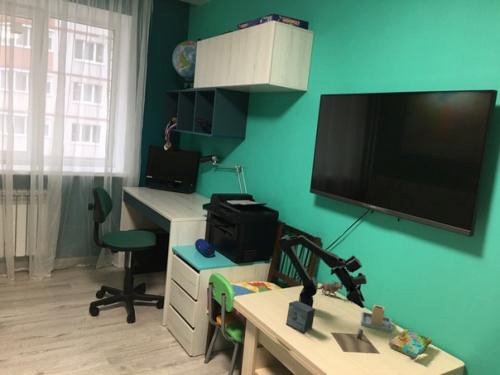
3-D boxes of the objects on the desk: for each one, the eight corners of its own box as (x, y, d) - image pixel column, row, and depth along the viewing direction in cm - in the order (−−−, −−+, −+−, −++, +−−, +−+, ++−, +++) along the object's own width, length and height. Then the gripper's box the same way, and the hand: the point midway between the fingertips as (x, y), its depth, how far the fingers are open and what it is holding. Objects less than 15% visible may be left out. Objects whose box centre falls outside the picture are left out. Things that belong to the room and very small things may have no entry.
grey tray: (360, 327, 194) (361, 322, 193) (361, 316, 207) (362, 311, 207) (391, 335, 190) (392, 330, 189) (390, 323, 203) (390, 318, 203)
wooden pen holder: (370, 324, 196) (373, 308, 195) (370, 319, 201) (373, 304, 200) (385, 327, 195) (388, 311, 194) (384, 323, 200) (387, 307, 199)
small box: (312, 330, 184) (316, 308, 182) (304, 334, 179) (307, 311, 177) (293, 321, 191) (297, 299, 189) (285, 324, 186) (288, 302, 184)
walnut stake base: (343, 353, 166) (345, 342, 166) (329, 334, 182) (331, 323, 181) (379, 355, 169) (381, 344, 168) (363, 336, 184) (365, 325, 184)
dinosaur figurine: (341, 295, 232) (343, 280, 230) (340, 299, 226) (343, 283, 225) (317, 290, 235) (319, 274, 234) (316, 293, 229) (318, 278, 228)
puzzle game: (389, 340, 175) (406, 327, 190) (387, 350, 175) (404, 336, 191) (417, 352, 167) (432, 337, 182) (415, 362, 168) (430, 347, 183)
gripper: (358, 274, 189) (378, 302, 188) (359, 263, 207) (377, 289, 206) (338, 286, 193) (357, 314, 191) (340, 275, 210) (358, 300, 209)
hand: (363, 304), depth 199 cm, fingers open, 9 cm apart
